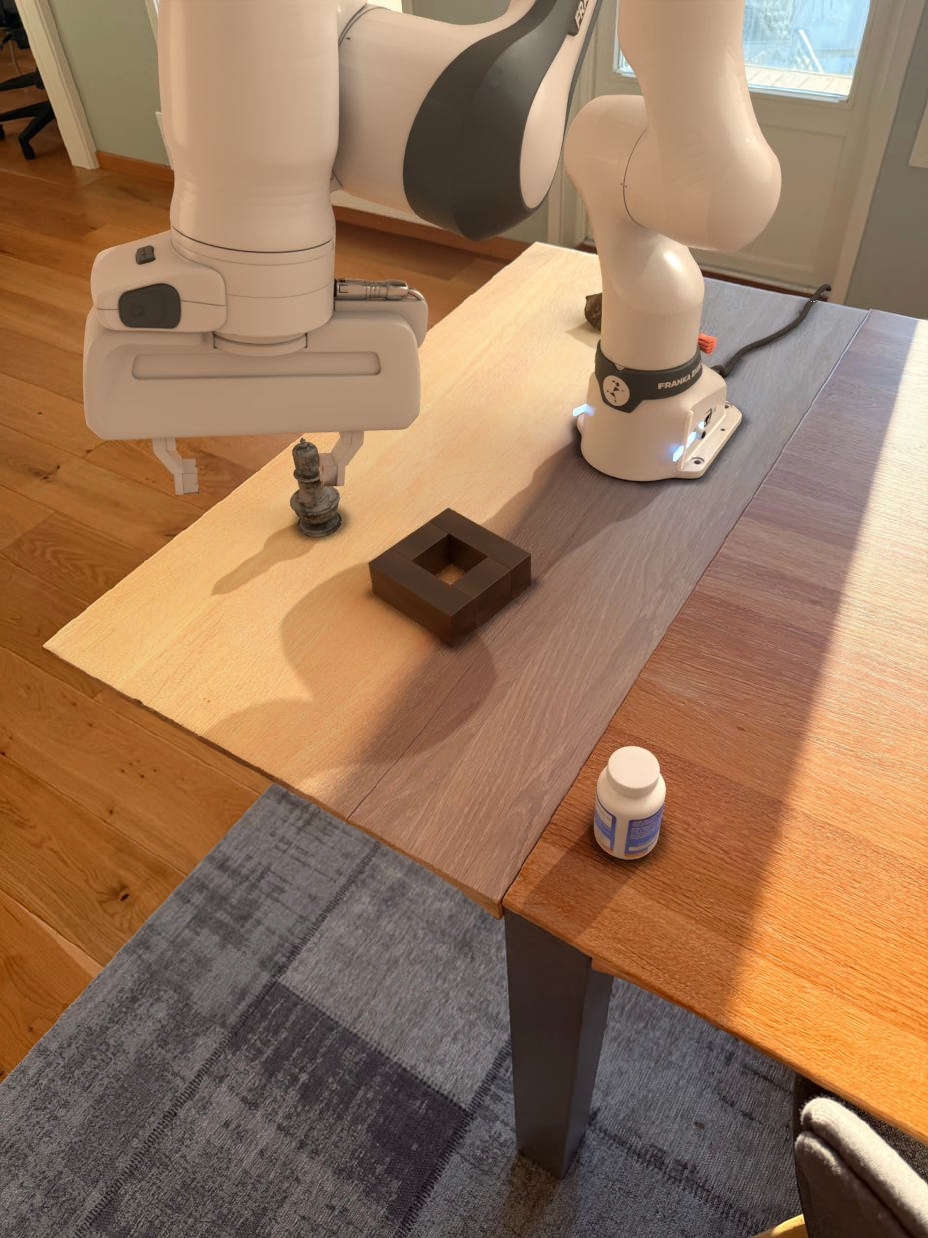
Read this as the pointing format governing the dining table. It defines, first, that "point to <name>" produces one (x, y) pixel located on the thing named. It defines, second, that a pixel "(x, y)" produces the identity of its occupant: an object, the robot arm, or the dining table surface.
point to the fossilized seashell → (594, 310)
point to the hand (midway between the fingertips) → (260, 486)
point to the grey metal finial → (313, 494)
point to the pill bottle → (629, 803)
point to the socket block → (471, 598)
